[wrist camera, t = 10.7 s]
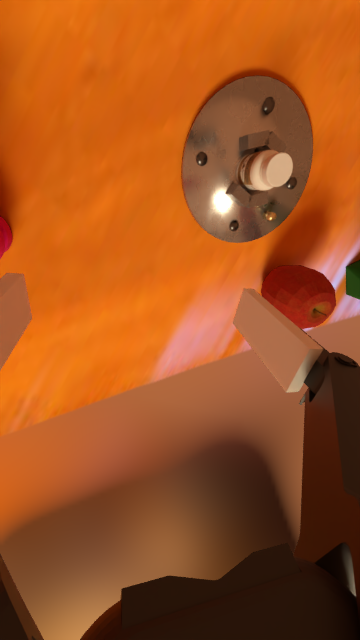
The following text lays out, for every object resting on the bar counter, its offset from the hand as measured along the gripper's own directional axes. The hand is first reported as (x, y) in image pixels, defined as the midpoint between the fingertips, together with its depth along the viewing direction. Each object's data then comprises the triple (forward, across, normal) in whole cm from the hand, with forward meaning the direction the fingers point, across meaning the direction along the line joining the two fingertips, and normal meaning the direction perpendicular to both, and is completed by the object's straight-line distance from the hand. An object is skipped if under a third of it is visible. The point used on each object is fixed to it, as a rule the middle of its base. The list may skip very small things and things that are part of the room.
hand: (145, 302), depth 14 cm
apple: (+25, +28, -7) cm, 38 cm away
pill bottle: (+24, +16, +10) cm, 31 cm away
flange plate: (+25, +16, +10) cm, 31 cm away
